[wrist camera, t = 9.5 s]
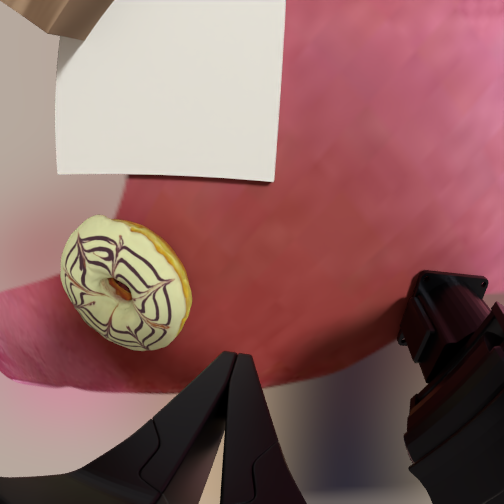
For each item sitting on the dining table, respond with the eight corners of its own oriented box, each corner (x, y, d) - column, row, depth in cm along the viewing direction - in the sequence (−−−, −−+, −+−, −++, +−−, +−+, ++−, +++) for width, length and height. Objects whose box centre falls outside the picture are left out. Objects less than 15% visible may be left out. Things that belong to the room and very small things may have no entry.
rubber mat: (288, -71, 11) (288, -76, 10) (274, 179, 18) (273, 181, 18) (78, -36, 12) (74, -38, 12) (62, 173, 20) (57, 174, 19)
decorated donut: (89, 187, 21) (58, 202, 17) (218, 247, 21) (202, 273, 18) (74, 292, 25) (51, 315, 22) (177, 347, 26) (162, 377, 22)
